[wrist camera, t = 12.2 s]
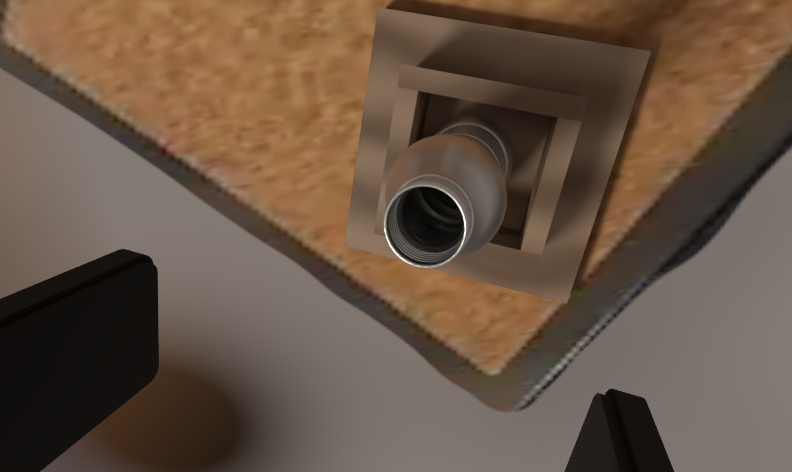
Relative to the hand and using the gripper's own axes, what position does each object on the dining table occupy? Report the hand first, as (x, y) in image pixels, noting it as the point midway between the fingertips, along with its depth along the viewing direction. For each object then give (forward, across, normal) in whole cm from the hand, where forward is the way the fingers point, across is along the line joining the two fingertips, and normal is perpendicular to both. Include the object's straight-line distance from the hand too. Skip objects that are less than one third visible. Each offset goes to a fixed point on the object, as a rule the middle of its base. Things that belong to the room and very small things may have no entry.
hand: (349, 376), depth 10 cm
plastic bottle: (+31, 0, 0) cm, 31 cm away
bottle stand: (+32, 0, 0) cm, 32 cm away
